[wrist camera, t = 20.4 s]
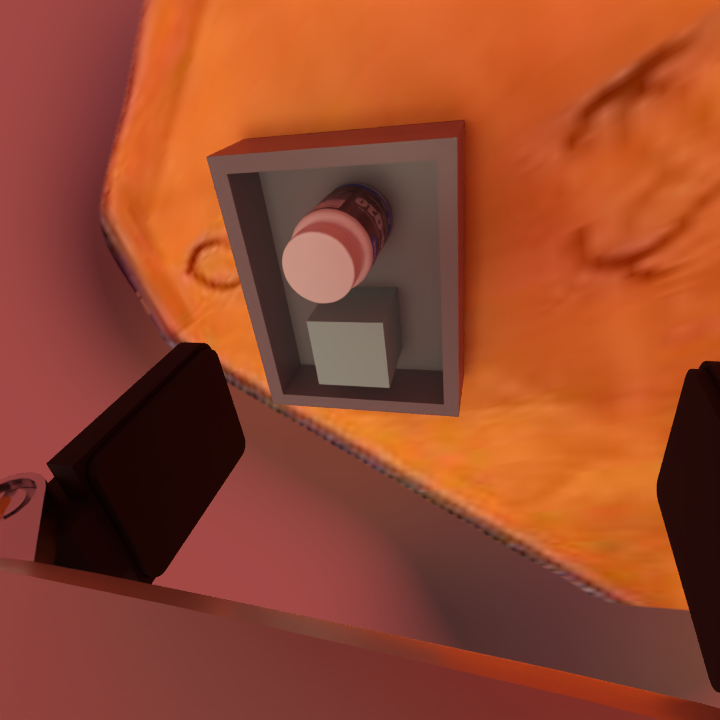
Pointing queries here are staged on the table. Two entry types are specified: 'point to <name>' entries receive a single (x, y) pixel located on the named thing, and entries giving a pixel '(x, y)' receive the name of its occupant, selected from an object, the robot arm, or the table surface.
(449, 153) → the tote
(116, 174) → the table surface
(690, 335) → the table surface
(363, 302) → the gray cube
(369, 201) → the pill bottle
